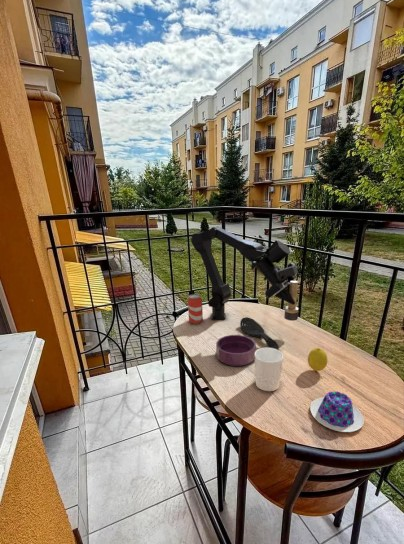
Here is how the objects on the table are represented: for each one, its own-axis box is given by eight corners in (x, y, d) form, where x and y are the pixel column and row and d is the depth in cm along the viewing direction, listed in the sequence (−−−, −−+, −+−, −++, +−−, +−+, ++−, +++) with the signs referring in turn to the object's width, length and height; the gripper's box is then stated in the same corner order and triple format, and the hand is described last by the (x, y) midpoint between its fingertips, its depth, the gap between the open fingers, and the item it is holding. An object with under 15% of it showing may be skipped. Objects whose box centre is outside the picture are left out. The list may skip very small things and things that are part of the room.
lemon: (316, 378, 83) (319, 354, 81) (302, 369, 88) (305, 346, 85) (329, 372, 86) (333, 349, 83) (315, 364, 90) (318, 342, 88)
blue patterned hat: (300, 403, 74) (302, 387, 72) (340, 395, 76) (343, 379, 74) (329, 439, 63) (332, 421, 61) (375, 428, 65) (379, 410, 63)
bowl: (217, 346, 103) (216, 334, 101) (253, 347, 102) (253, 334, 100) (216, 367, 91) (215, 353, 89) (257, 367, 90) (257, 354, 88)
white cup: (276, 396, 77) (278, 365, 73) (249, 387, 81) (250, 357, 77) (284, 381, 83) (287, 351, 79) (259, 373, 87) (260, 345, 83)
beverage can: (195, 325, 121) (193, 299, 116) (186, 321, 125) (184, 296, 121) (205, 321, 124) (204, 296, 120) (196, 317, 129) (195, 292, 125)
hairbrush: (267, 347, 96) (236, 316, 118) (266, 356, 97) (236, 324, 119) (288, 342, 98) (253, 313, 120) (287, 351, 100) (253, 321, 121)
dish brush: (285, 314, 111) (287, 279, 106) (298, 316, 109) (301, 280, 104) (283, 319, 107) (286, 283, 102) (297, 321, 105) (300, 284, 100)
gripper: (275, 262, 95) (305, 298, 93) (293, 252, 109) (320, 283, 107) (253, 281, 102) (280, 315, 100) (273, 270, 116) (297, 299, 114)
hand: (295, 302), depth 105 cm, fingers closed on dish brush, 3 cm apart
